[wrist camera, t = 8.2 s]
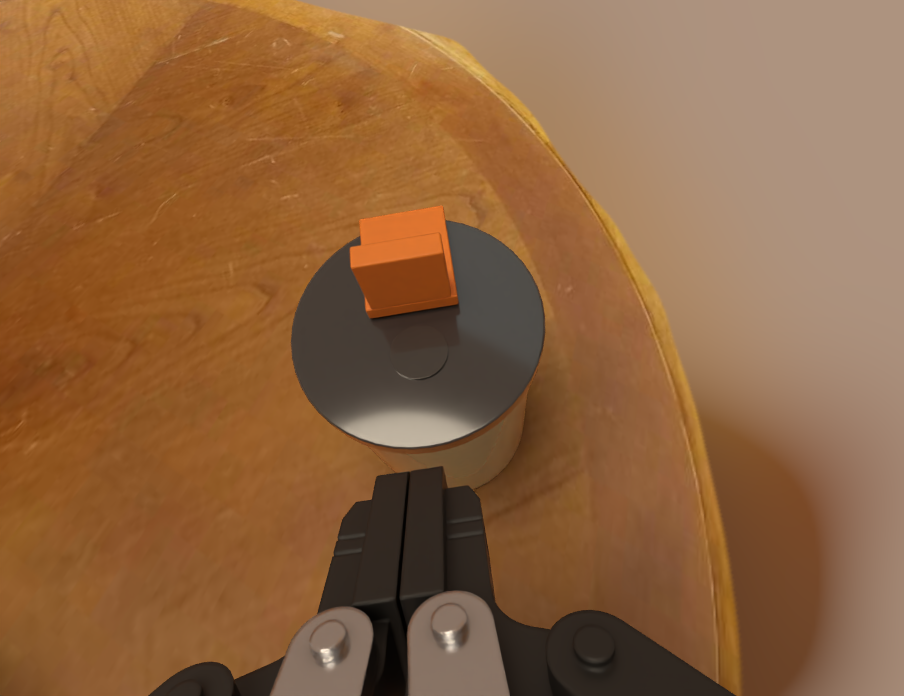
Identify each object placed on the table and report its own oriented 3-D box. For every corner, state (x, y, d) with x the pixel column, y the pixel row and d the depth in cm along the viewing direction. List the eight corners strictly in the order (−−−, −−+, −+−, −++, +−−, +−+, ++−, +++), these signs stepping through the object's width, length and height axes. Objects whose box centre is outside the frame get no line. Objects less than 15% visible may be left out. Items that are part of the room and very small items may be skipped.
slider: (458, 304, 18) (450, 251, 15) (369, 319, 18) (343, 269, 15) (444, 215, 19) (434, 151, 16) (362, 228, 19) (338, 167, 16)
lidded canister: (544, 486, 26) (573, 424, 16) (375, 511, 27) (288, 468, 16) (512, 333, 30) (518, 199, 19) (365, 357, 30) (289, 237, 20)
